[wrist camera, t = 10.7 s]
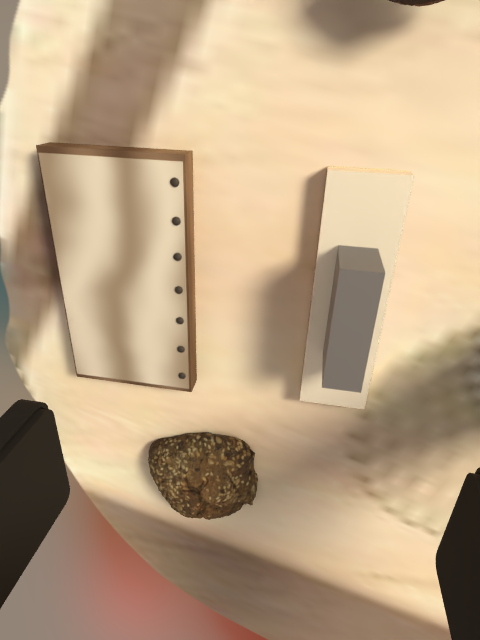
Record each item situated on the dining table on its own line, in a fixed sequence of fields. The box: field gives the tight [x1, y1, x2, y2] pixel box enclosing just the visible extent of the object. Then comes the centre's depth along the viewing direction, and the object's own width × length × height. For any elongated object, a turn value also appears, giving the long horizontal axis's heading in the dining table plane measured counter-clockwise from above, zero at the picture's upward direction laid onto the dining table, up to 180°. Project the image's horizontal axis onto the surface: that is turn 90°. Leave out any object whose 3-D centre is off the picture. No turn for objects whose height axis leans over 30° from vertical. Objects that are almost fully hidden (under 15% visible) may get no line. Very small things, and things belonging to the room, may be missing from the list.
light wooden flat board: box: [36, 143, 197, 392], centre depth 40 cm, size 12×22×2 cm, turn 178°
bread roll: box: [148, 432, 258, 520], centre depth 49 cm, size 13×12×5 cm
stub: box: [300, 166, 414, 409], centre depth 35 cm, size 6×21×7 cm, turn 178°
